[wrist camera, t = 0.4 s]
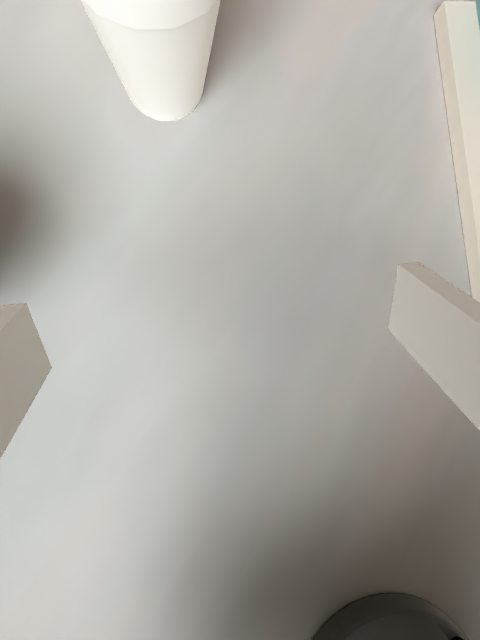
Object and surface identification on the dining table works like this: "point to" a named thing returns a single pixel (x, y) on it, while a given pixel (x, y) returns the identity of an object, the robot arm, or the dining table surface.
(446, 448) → the dining table surface
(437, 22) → the board
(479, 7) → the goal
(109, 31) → the foam cup
